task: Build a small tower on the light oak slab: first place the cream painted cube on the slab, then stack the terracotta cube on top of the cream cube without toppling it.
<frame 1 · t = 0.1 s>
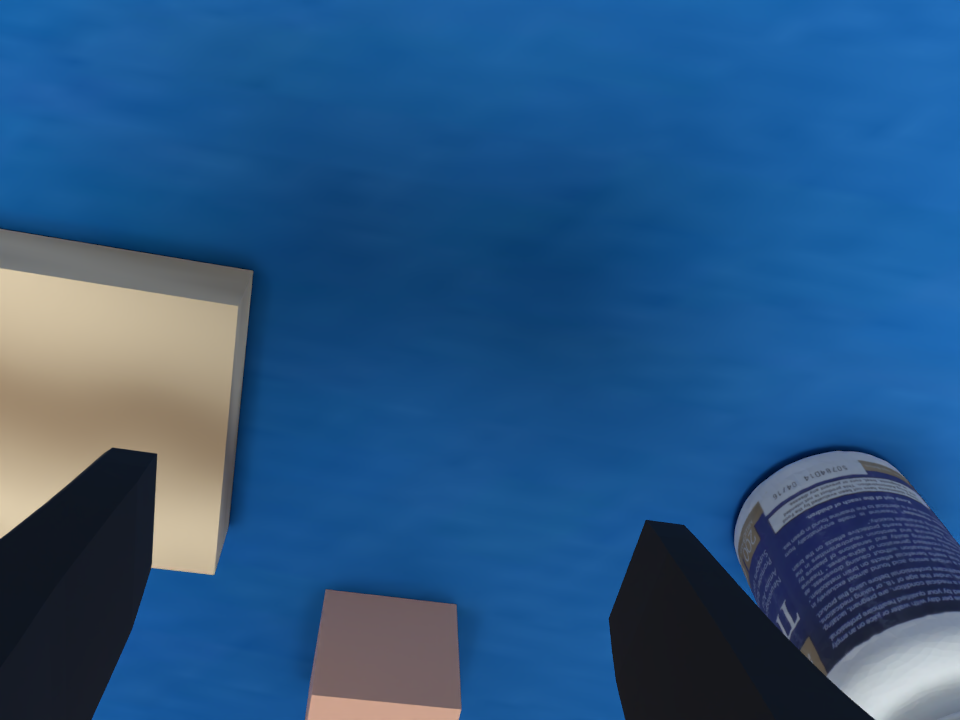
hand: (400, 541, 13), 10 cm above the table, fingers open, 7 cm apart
pill bottle: (816, 515, 27), on the table
terracotta cube: (381, 642, 28), on the table
oak slab: (81, 385, 23), on the table
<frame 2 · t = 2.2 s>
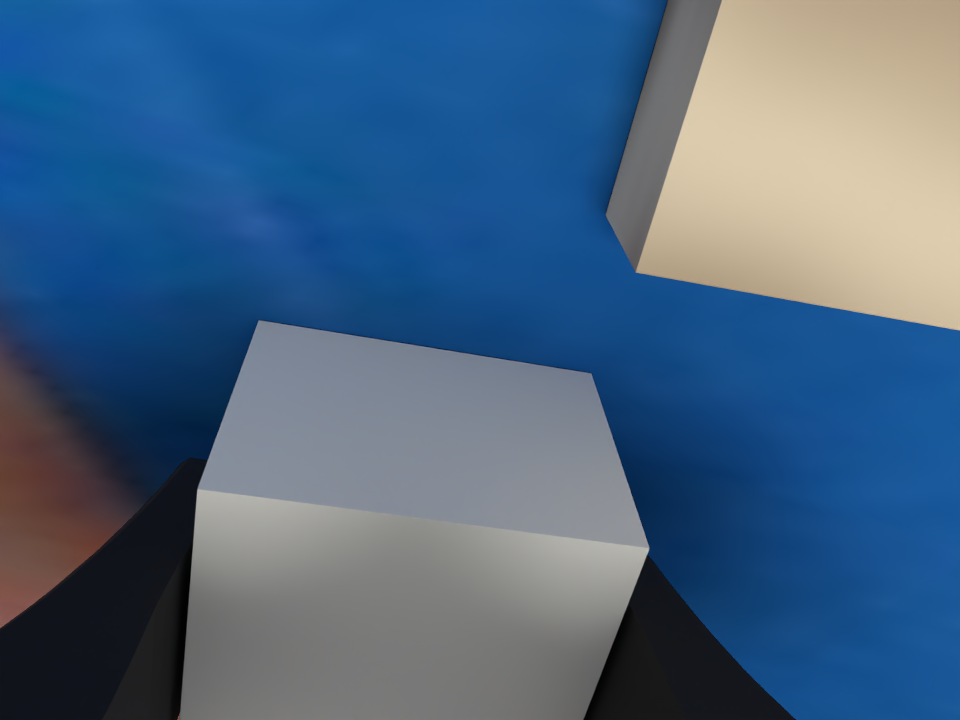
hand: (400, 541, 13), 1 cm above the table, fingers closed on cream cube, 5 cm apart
cream cube: (401, 482, 14), on the table, touching gripper
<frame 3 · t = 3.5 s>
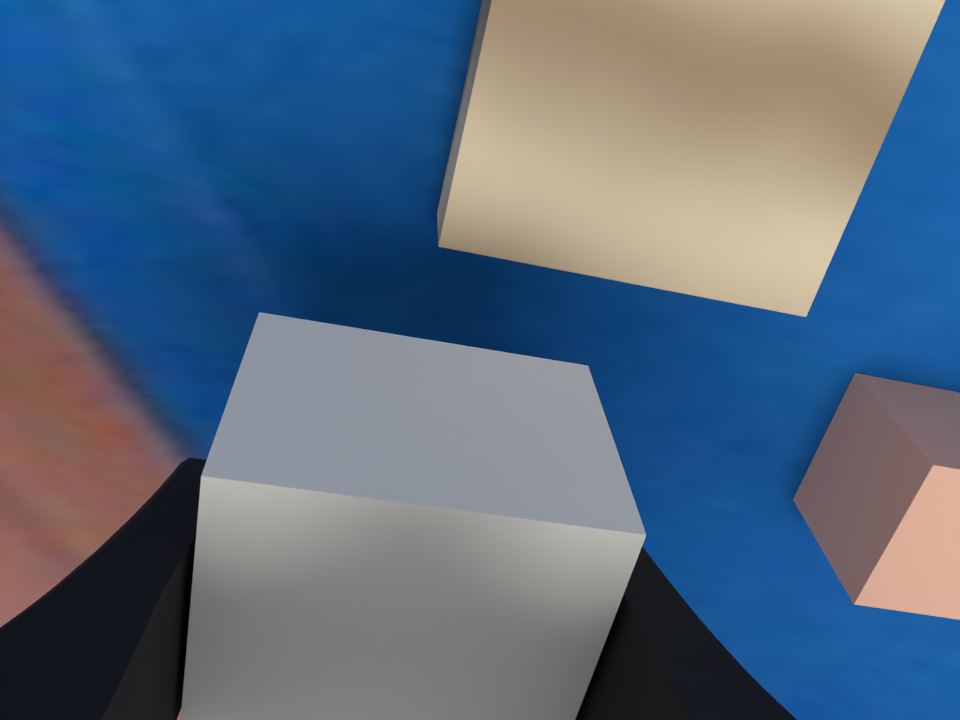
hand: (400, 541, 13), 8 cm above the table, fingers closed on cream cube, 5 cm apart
cream cube: (399, 473, 15), point 7 cm above the table, touching gripper
terracotta cube: (890, 449, 24), on the table
oak slab: (666, 68, 18), on the table
when the fingers open (4 cm above the table, at t = 5.1 s): cream cube stays where it is, resting on oak slab.
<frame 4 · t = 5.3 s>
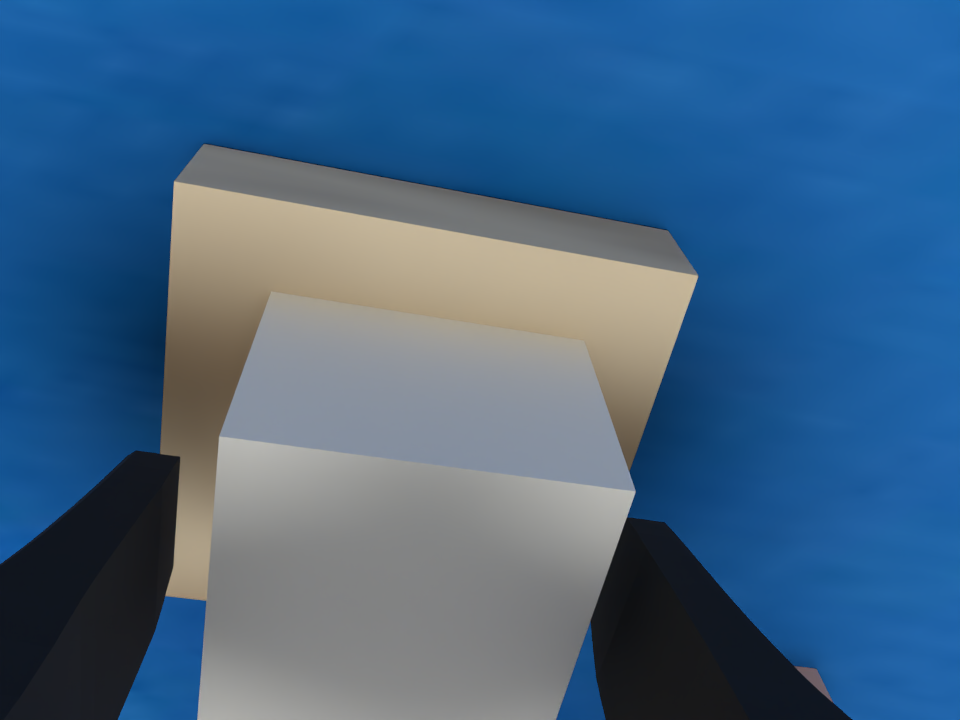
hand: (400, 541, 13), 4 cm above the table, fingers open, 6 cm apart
cream cube: (406, 446, 15), point 2 cm above the table, touching oak slab
terracotta cube: (709, 714, 22), on the table
oak slab: (405, 388, 17), on the table
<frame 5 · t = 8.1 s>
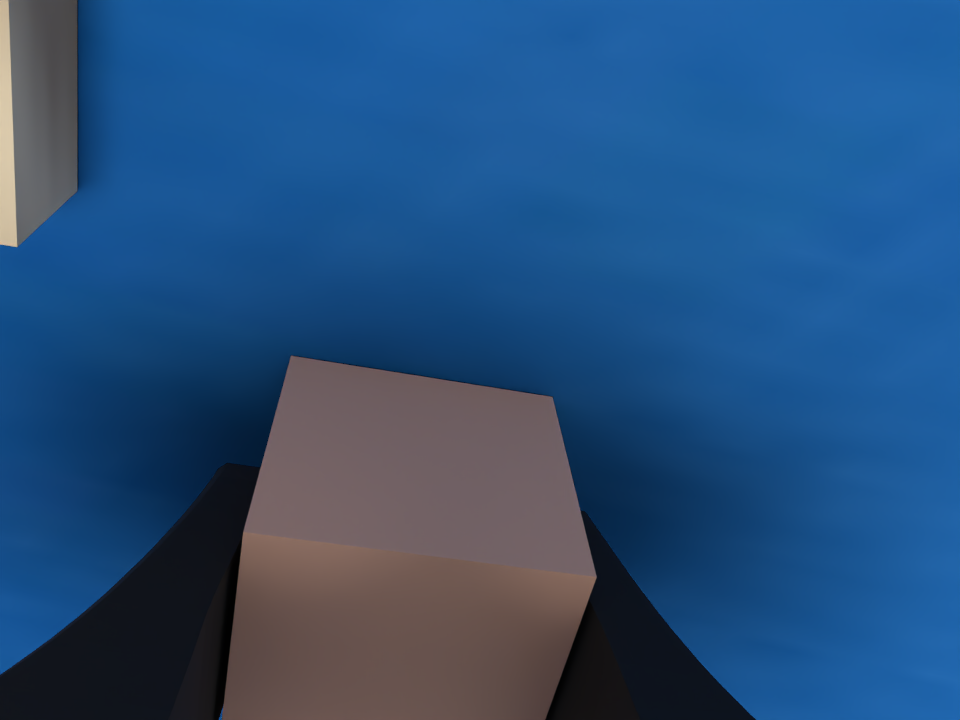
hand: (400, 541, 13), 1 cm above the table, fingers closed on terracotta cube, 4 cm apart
terracotta cube: (402, 482, 14), on the table, touching gripper
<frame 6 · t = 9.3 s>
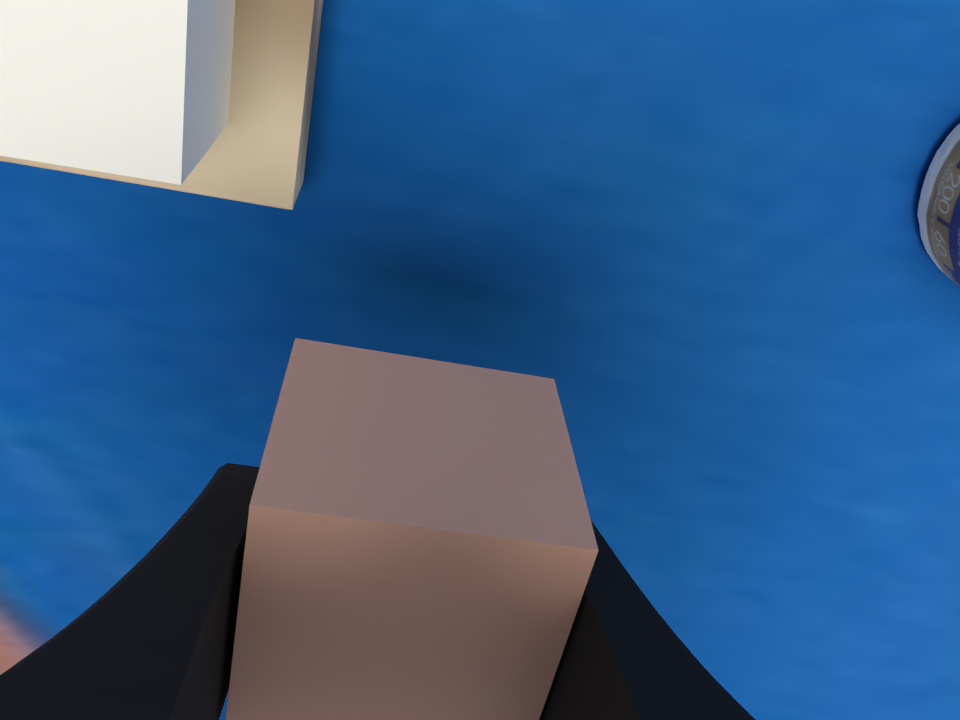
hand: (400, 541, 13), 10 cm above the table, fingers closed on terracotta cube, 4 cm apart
terracotta cube: (405, 465, 15), point 8 cm above the table, touching gripper
when the fingers open (8 cm above the table, at t = 10.6 s): terracotta cube stays where it is, resting on cream cube.
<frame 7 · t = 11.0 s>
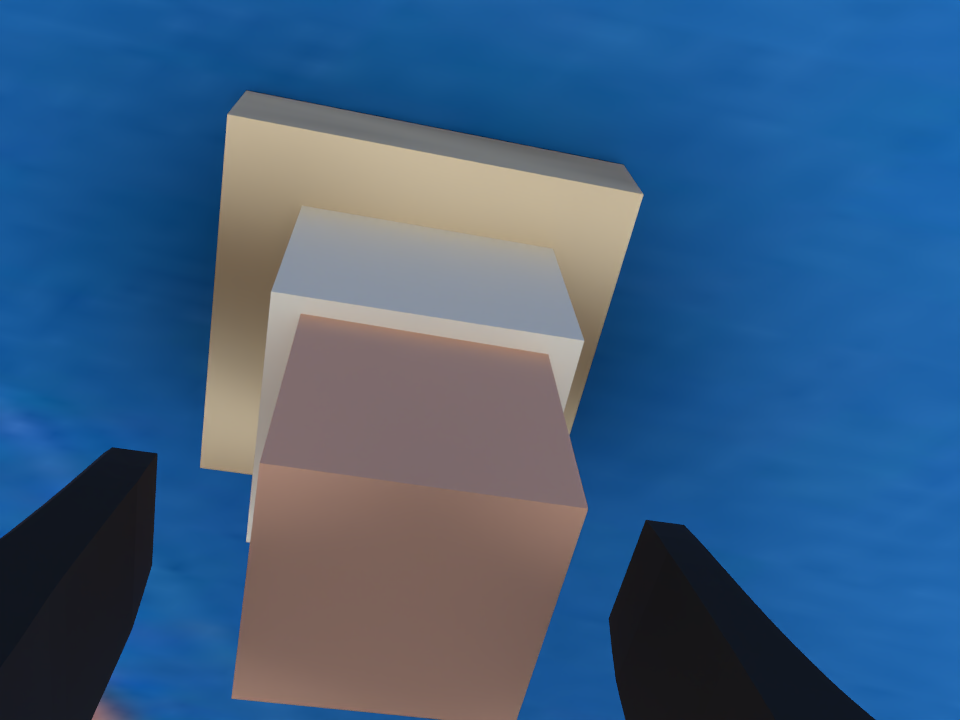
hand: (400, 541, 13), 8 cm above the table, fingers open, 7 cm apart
cream cube: (409, 338, 19), point 2 cm above the table, touching oak slab, terracotta cube
terracotta cube: (405, 437, 15), point 6 cm above the table, touching cream cube
oak slab: (408, 299, 20), on the table
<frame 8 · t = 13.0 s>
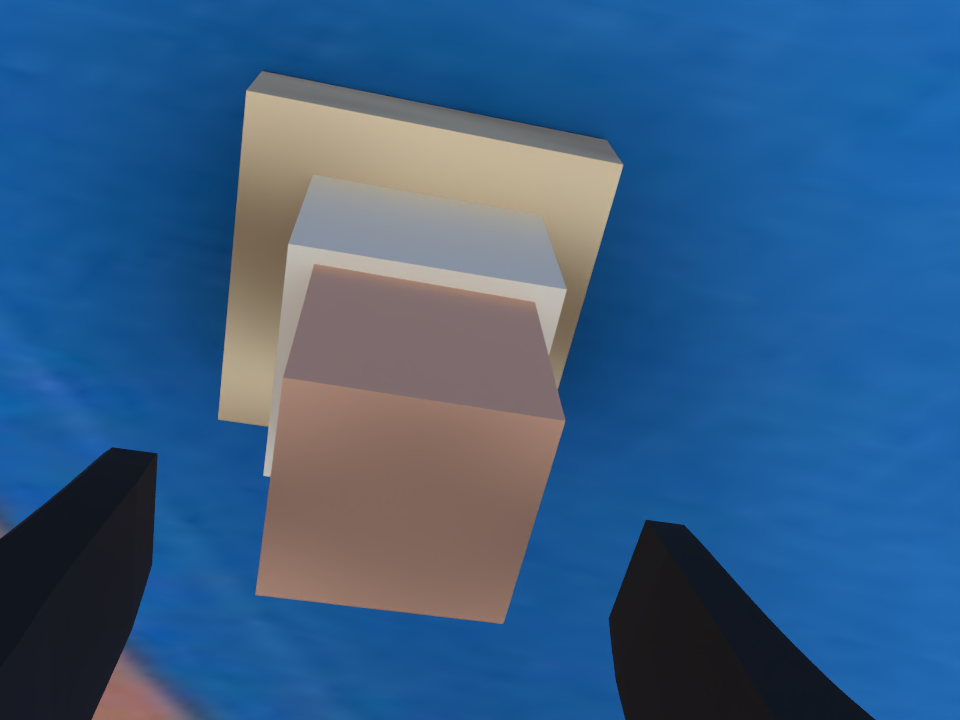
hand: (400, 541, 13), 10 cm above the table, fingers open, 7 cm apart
cream cube: (410, 298, 20), point 2 cm above the table, touching oak slab, terracotta cube
terracotta cube: (407, 378, 17), point 6 cm above the table, touching cream cube
oak slab: (409, 266, 22), on the table
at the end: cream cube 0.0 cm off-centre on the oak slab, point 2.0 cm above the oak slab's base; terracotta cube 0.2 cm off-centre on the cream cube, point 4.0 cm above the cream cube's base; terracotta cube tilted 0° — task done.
